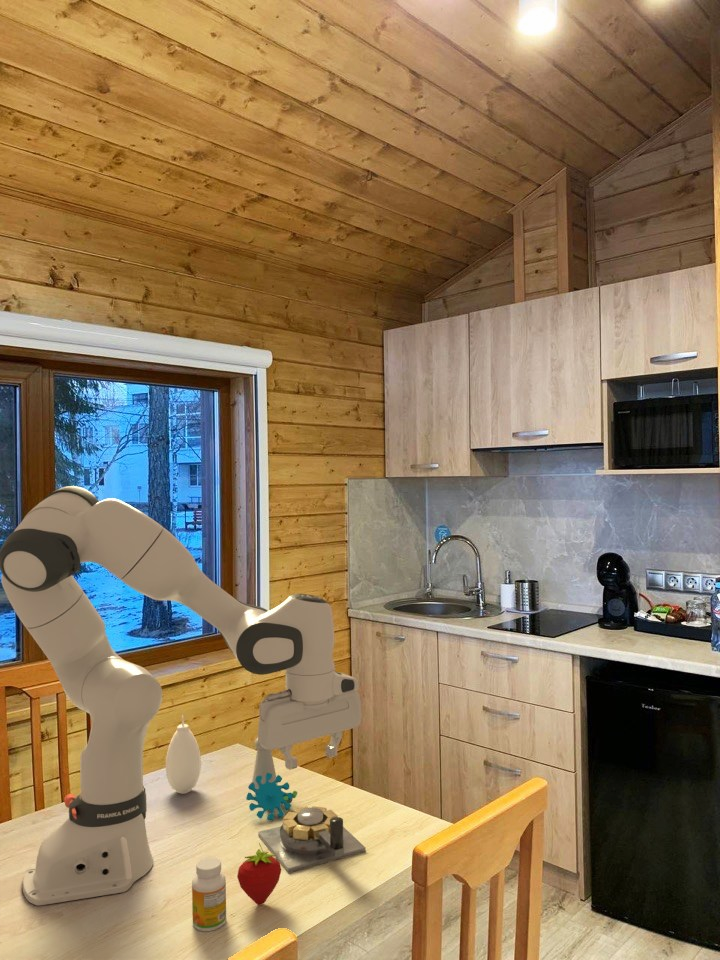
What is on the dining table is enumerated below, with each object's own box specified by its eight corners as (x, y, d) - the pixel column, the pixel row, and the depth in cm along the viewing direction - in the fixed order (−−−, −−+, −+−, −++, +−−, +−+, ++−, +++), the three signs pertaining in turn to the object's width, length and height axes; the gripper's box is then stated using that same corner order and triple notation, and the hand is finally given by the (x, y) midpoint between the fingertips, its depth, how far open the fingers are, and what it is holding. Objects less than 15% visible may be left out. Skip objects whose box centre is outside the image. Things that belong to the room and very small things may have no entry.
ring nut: (313, 864, 135) (313, 829, 135) (276, 822, 151) (275, 791, 151) (365, 850, 139) (364, 816, 139) (323, 811, 156) (323, 780, 156)
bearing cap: (288, 872, 138) (287, 840, 138) (258, 835, 152) (258, 806, 152) (365, 851, 145) (365, 820, 145) (330, 818, 160) (329, 789, 159)
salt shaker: (250, 790, 174) (249, 734, 174) (274, 787, 176) (274, 731, 175) (254, 801, 168) (253, 743, 168) (279, 797, 170) (279, 740, 170)
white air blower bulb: (196, 799, 169) (195, 719, 169) (161, 799, 170) (160, 719, 169) (204, 785, 177) (203, 708, 177) (172, 785, 177) (170, 708, 177)
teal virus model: (247, 818, 156) (247, 771, 163) (242, 829, 160) (241, 783, 167) (299, 818, 160) (296, 771, 167) (293, 829, 163) (290, 783, 170)
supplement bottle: (190, 916, 125) (189, 858, 125) (222, 909, 127) (222, 852, 126) (195, 935, 120) (194, 874, 119) (229, 927, 122) (228, 867, 121)
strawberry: (233, 900, 129) (232, 842, 129) (275, 889, 132) (274, 833, 132) (243, 919, 124) (242, 858, 124) (286, 907, 127) (285, 848, 127)
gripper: (268, 700, 126) (270, 782, 126) (365, 678, 138) (366, 753, 139) (250, 692, 131) (251, 771, 131) (345, 671, 144) (346, 744, 144)
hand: (311, 762), depth 135 cm, fingers open, 7 cm apart
